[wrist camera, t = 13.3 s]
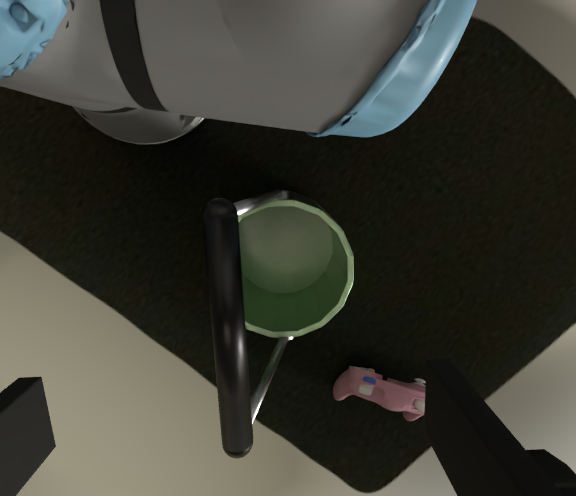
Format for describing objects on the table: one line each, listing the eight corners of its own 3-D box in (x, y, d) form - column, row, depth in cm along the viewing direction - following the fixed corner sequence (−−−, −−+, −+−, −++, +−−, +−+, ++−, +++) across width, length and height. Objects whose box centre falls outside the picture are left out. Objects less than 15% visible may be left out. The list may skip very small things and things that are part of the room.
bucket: (234, 308, 40) (177, 468, 19) (225, 181, 37) (145, 202, 16) (337, 304, 40) (395, 460, 19) (335, 176, 37) (402, 192, 16)
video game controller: (416, 379, 44) (450, 387, 37) (409, 420, 43) (442, 435, 36) (337, 355, 43) (356, 359, 36) (327, 396, 42) (345, 407, 35)
